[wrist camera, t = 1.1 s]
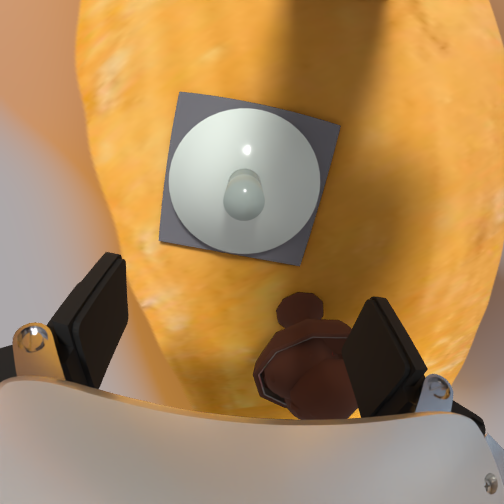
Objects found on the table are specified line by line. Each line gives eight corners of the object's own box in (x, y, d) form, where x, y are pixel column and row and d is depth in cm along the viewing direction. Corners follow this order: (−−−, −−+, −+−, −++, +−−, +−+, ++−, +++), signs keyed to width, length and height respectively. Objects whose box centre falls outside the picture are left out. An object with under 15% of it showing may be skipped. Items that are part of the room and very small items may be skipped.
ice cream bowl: (233, 299, 31) (226, 422, 17) (328, 253, 28) (385, 365, 15) (276, 356, 35) (287, 463, 21) (357, 321, 33) (400, 423, 19)
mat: (180, 92, 21) (179, 91, 21) (338, 125, 23) (340, 125, 22) (160, 238, 27) (158, 240, 27) (298, 263, 29) (299, 266, 28)
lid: (184, 97, 21) (165, 92, 16) (334, 129, 22) (358, 133, 17) (164, 236, 26) (146, 266, 21) (296, 260, 28) (307, 294, 23)
